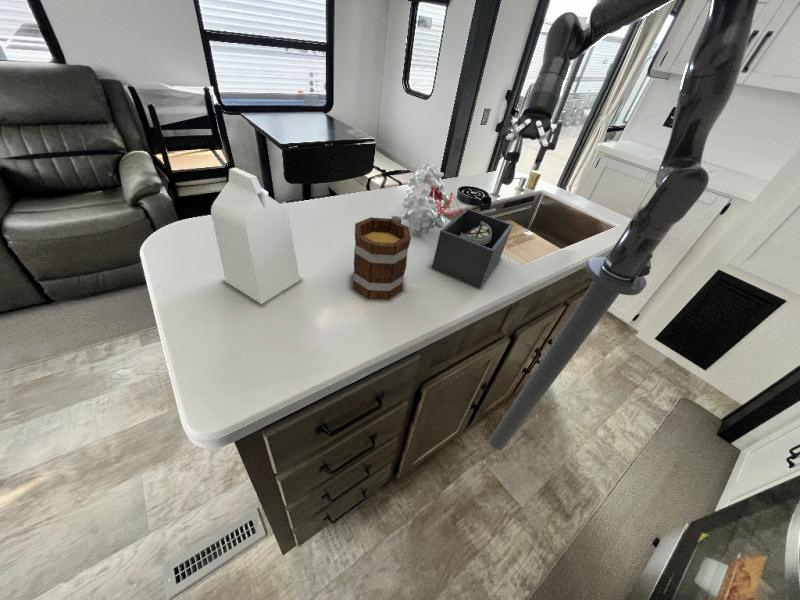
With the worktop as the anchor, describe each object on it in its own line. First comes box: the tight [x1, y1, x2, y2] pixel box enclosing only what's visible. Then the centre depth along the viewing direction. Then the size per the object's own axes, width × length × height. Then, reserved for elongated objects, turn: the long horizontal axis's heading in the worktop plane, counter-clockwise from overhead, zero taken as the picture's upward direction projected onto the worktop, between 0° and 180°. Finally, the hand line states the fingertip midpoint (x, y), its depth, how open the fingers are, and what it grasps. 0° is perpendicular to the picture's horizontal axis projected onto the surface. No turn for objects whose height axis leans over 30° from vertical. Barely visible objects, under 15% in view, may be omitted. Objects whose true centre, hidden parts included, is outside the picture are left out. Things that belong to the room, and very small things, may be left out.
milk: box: [210, 167, 301, 305], centre depth 69 cm, size 12×12×26 cm
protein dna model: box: [400, 162, 463, 236], centre depth 106 cm, size 20×18×25 cm
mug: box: [352, 215, 412, 300], centre depth 80 cm, size 20×14×15 cm
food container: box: [459, 221, 492, 247], centre depth 91 cm, size 12×6×10 cm, turn 140°
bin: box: [431, 207, 514, 289], centre depth 91 cm, size 15×19×12 cm
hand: (520, 159), depth 83 cm, fingers open, 8 cm apart
